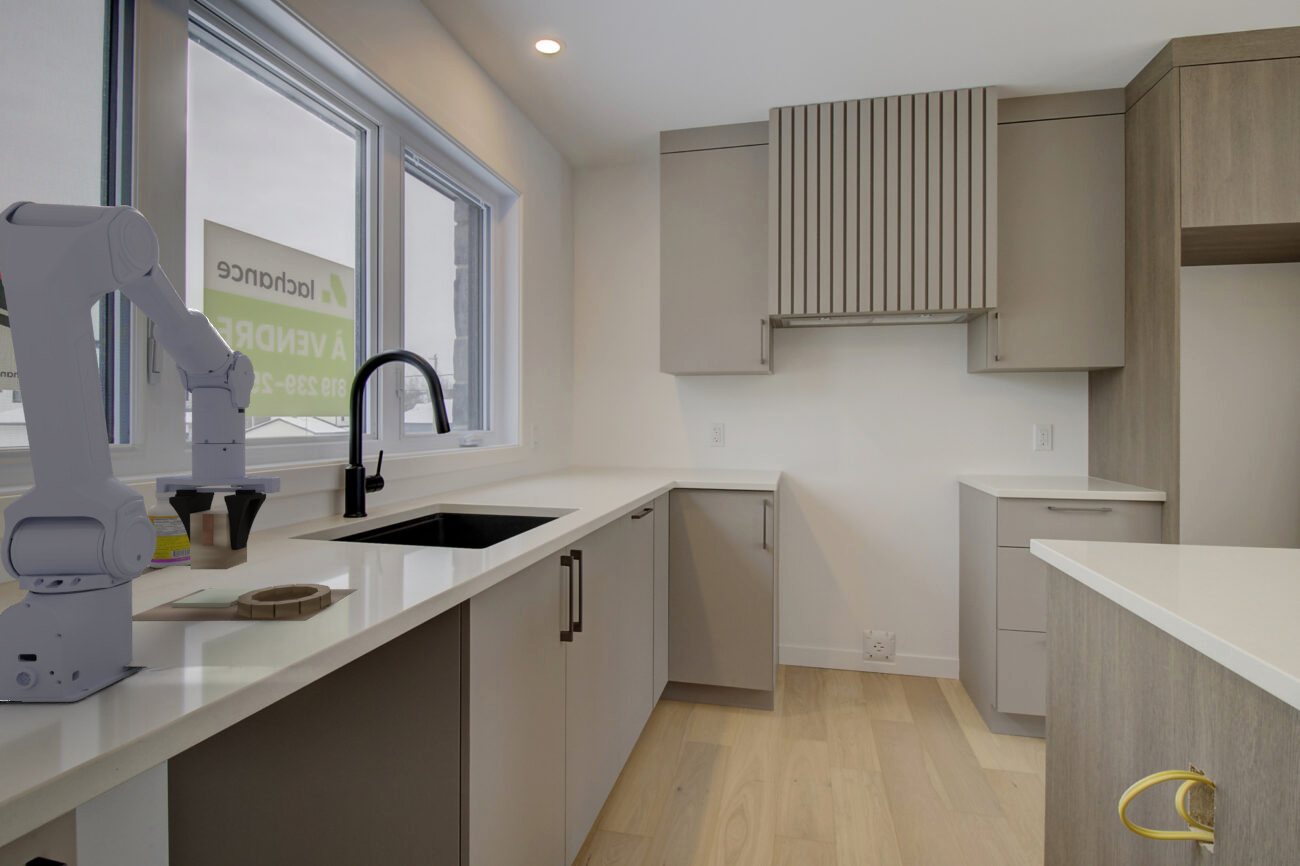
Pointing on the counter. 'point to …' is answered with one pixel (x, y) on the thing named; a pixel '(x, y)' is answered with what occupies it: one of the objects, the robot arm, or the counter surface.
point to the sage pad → (213, 598)
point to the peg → (213, 541)
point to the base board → (255, 605)
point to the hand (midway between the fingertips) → (219, 548)
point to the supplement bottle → (168, 534)
